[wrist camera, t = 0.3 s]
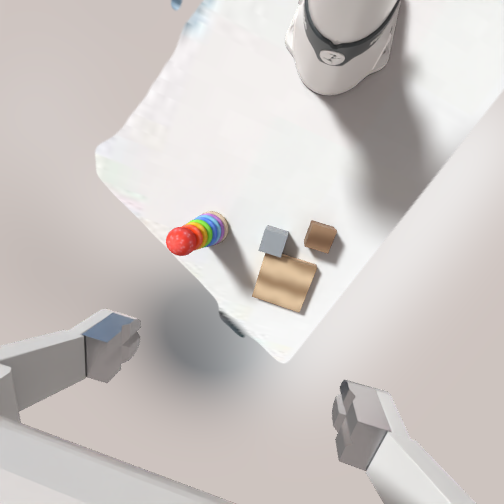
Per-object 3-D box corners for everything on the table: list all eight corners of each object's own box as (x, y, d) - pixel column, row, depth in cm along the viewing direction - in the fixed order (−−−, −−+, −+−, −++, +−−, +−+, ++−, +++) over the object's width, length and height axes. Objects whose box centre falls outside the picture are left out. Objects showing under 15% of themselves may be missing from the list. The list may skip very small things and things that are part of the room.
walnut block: (311, 220, 52) (313, 223, 47) (333, 226, 51) (337, 231, 47) (303, 240, 53) (304, 246, 49) (325, 247, 53) (328, 253, 48)
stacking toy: (235, 226, 55) (207, 247, 38) (215, 249, 58) (179, 278, 40) (211, 203, 55) (170, 213, 37) (191, 227, 57) (145, 247, 40)
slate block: (267, 225, 54) (265, 229, 49) (288, 231, 53) (287, 236, 49) (261, 244, 55) (258, 250, 51) (281, 251, 55) (280, 257, 50)
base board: (267, 248, 55) (265, 251, 53) (316, 264, 54) (316, 268, 52) (253, 291, 59) (251, 296, 57) (299, 307, 58) (299, 312, 56)
